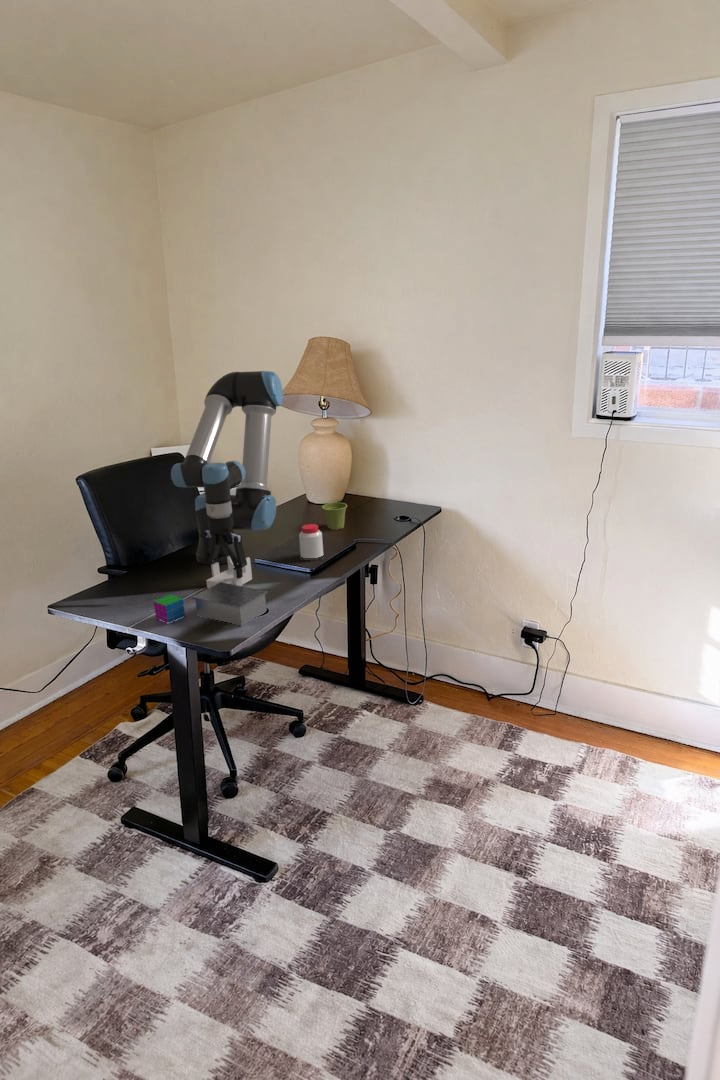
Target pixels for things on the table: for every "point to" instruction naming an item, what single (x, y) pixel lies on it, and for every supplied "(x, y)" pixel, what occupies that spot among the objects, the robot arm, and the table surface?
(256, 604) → the gray rectangular block
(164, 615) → the puzzle toy
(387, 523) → the table surface
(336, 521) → the plant pot
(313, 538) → the pill bottle
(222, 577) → the bracket
